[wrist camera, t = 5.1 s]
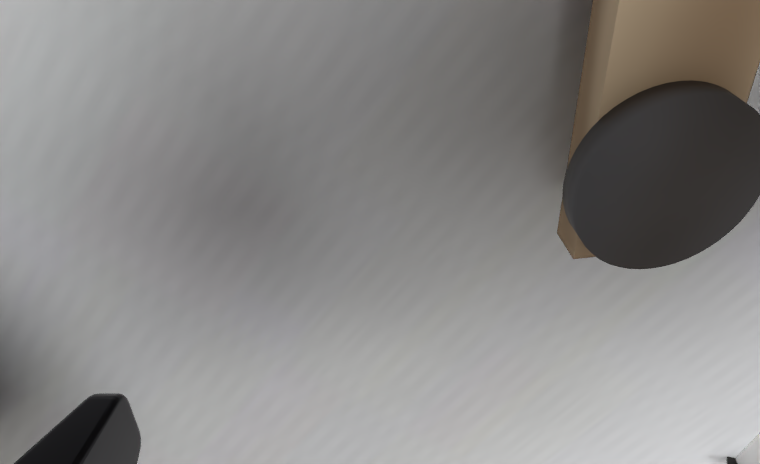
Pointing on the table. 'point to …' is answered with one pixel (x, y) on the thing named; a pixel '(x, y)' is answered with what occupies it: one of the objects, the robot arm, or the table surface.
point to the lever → (662, 131)
